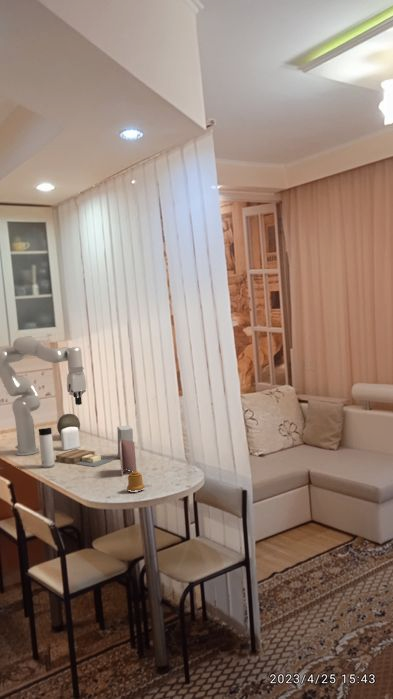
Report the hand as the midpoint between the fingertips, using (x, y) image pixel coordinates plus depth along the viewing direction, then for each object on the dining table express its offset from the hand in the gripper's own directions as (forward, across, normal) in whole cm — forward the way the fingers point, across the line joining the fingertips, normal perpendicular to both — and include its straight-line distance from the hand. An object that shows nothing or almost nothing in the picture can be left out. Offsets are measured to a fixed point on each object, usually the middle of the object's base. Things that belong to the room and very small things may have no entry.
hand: (78, 404), depth 312 cm
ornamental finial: (+27, +35, +69) cm, 82 cm away
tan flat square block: (+27, +9, +4) cm, 29 cm away
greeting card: (+27, +16, +48) cm, 57 cm away
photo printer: (+27, -6, -16) cm, 32 cm away
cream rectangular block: (+27, +9, +16) cm, 32 cm away
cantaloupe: (+27, -24, -37) cm, 52 cm away
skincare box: (+27, -4, +28) cm, 39 cm away
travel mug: (+27, +25, +1) cm, 37 cm away
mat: (+27, +9, +18) cm, 34 cm away
